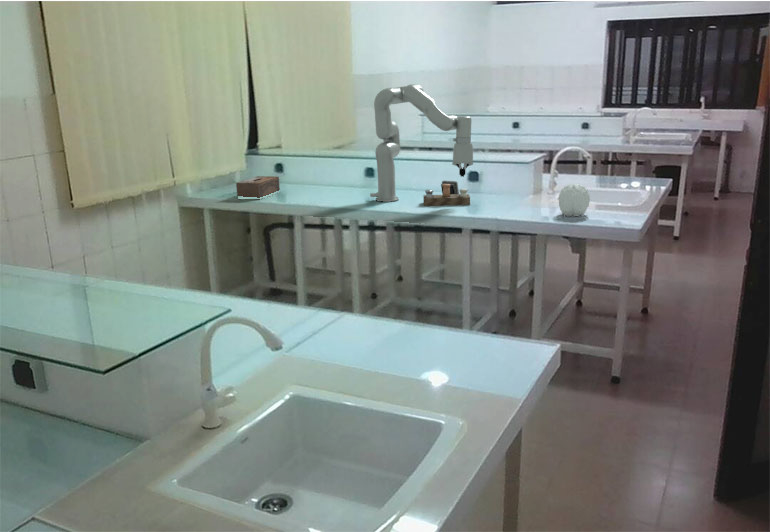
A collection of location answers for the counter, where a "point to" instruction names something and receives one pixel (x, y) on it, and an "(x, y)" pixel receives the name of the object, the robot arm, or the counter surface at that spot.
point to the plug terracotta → (446, 190)
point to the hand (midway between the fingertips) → (462, 176)
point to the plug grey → (429, 193)
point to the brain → (574, 199)
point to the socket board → (446, 200)
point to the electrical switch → (451, 186)
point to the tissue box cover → (258, 186)
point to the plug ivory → (463, 192)
